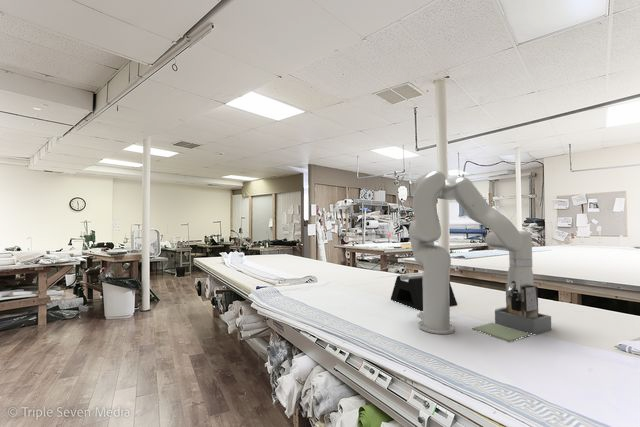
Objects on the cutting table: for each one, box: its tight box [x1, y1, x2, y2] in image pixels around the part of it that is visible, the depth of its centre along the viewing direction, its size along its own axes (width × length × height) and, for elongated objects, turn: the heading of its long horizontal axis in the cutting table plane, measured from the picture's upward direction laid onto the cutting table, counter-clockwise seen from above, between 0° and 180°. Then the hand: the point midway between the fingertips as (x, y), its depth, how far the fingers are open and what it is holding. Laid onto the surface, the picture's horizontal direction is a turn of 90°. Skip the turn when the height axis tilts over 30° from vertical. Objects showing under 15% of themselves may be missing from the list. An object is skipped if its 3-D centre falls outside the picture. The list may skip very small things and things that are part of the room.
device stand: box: [390, 271, 458, 312], centre depth 154 cm, size 22×22×15 cm
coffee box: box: [505, 283, 539, 319], centre depth 118 cm, size 9×6×16 cm
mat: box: [471, 322, 531, 343], centre depth 111 cm, size 14×12×1 cm
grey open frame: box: [494, 306, 552, 335], centre depth 118 cm, size 14×11×6 cm
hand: (522, 308), depth 118 cm, fingers closed on coffee box, 7 cm apart
